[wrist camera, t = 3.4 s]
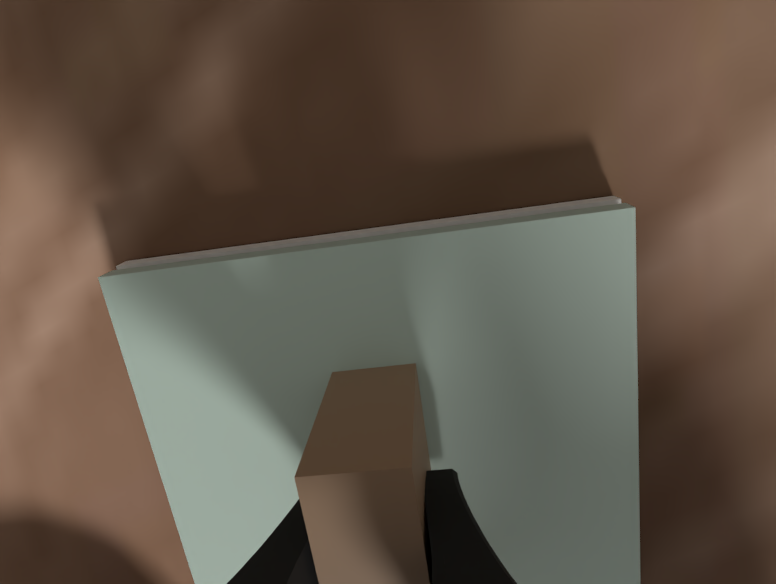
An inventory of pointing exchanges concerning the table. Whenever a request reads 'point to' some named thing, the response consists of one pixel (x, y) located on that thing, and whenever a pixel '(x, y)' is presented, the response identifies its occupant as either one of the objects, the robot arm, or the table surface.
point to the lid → (398, 395)
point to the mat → (374, 231)
